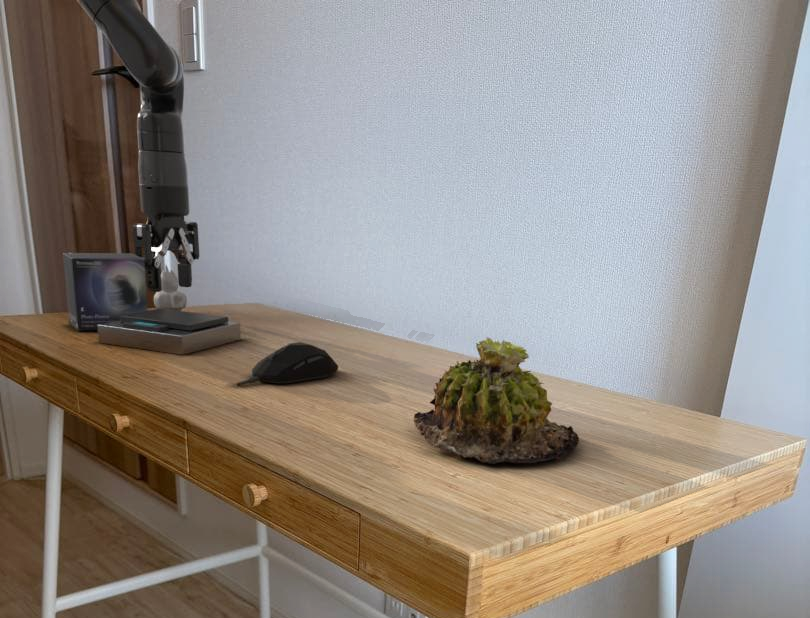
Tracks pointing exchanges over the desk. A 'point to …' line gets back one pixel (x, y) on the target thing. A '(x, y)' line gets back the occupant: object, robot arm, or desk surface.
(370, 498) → the desk surface
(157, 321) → the scale pan
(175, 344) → the scale
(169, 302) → the beige lumpy figurine
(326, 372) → the gaming mouse
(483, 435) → the cactus
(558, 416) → the desk surface
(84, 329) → the small box
